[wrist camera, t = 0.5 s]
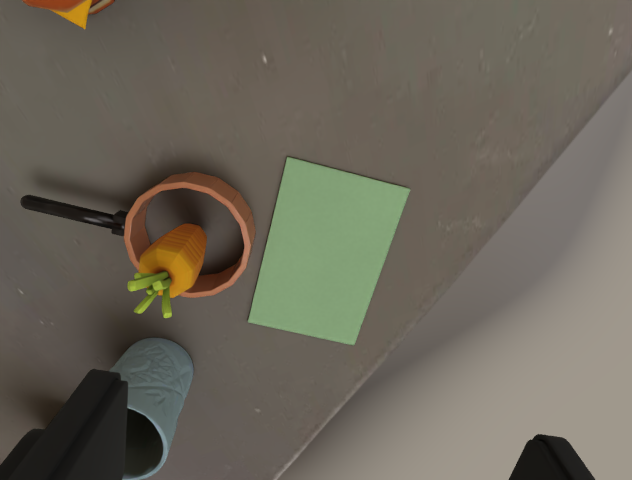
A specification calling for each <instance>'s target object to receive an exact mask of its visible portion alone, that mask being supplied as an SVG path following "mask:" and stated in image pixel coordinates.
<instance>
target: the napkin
mask: <svg viewBox="0 0 632 480" xmlns="http://www.w3.org/2000/svg"><path fill="white" fill-rule="evenodd" d="M409 191H410V189H409V188H406V187H402V186H398V185H394V184H390V183H387V182H383V181H379V180H375V179H371V178H368V177H364V176H360V175H356V174H352V173H349V172H345V171H341V170H337V169H333V168H329V167H326V166H322V165H318V164H314V163H310V162H307V161H303V160H299V159H295V158H291V157H287V160H286V164H285V169H284V173H283V177H282V181H281V185H280V190H279V194H278V198H277V202H276V206H275V210H274V215H273V219H272V223H271V227H270V231H269V235H268V240H267V244H266V248H265V252H264V256H263V261H262V265H261V269H260V273H259V277H258V281H257V286H256V290H255V294H254V298H253V302H252V306H251V311H250V315H249V319H248V322H249V323H254V324H258V325H263V326H268V327H272V328H277V329H281V330H286V331H290V332H295V333H299V334H304V335H309V336H313V337H318V338H322V339H327V340H331V341H336V342H340V343H345V344H349V345H354V344H355V342H356V339H357V336H358V333H359V330H360V328H361V325H362V322H363V319H364V317H365V314H366V311H367V308H368V305H369V303H370V300H371V297H372V294H373V292H374V289H375V286H376V283H377V280H378V278H379V275H380V272H381V269H382V267H383V264H384V261H385V258H386V255H387V253H388V250H389V247H390V244H391V242H392V239H393V236H394V233H395V230H396V228H397V225H398V222H399V219H400V217H401V214H402V211H403V208H404V205H405V203H406V200H407V197H408V194H409Z"/></svg>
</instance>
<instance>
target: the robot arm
mask: <svg viewBox="0 0 632 480" xmlns="http://www.w3.org/2000/svg"><path fill="white" fill-rule="evenodd" d="M127 403H128V382H127V381H123V380H121V375H120V373H117V372H110V371H103V370H97V369H92V370H91V371H90V372H89V373H88V374H87V375H86V376H85V378H84V379H83V380H82V382H81V383H80V384H79V386H78V387H77V388H76V390H75V391H74V392H73V394H72V395H71V396H70V398H69V399H68V400H67V402H66V403H65V404H64V406H63V407H62V408H61V410H60V411H59V412H58V414H57V415H56V416H55V418H54V419H53V420H52V422H51V423H50V424H49V426H48V427H47V428H46V430H45V429H32V430H31V431H29V432H28V433H27V434H26V435H25V436H24V437H23V438H22V439H21V440H20V441H19V443H18V444H17V445H16V446H15V448H14V449H13V450H12V451H11V453H10V454H9V455H8V456H7V458H6V459H5V460H4V461H3V463H2V464H1V465H0V480H122V479H123V475H124V470H125V450H126V427H127ZM509 480H595V479H594V477H593V476H592V474H591V473H590V471H589V470H588V469H587V467H586V466H585V464H584V463H583V462H582V460H581V459H580V457H579V456H578V454H577V453H576V452H575V450H574V449H573V448H572V446H571V445H570V443H569V442H568V441H567V440H566V439H564V438H562V437H555V436H548V435H542V434H540V435H539V434H538V435H536V436H535V437H534V438H533V439H532V440H529V441H528V442H527V444H526V445H525V448H524V450H523V452H522V454H521V456H520V458H519V460H518V462H517V464H516V466H515V468H514V470H513V472H512V474H511V476H510V478H509Z"/></svg>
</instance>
